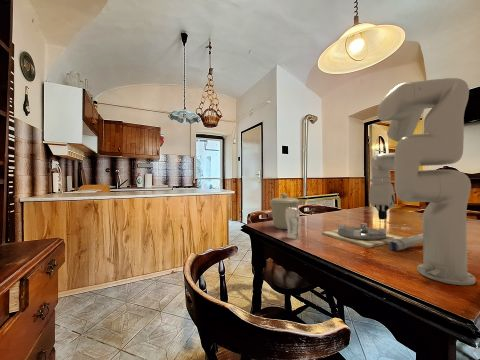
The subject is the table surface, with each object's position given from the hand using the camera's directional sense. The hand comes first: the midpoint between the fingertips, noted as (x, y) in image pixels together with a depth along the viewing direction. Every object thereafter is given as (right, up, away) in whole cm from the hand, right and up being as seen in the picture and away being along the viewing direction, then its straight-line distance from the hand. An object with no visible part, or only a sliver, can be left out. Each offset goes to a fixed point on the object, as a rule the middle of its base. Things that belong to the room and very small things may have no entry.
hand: (382, 219), depth 104 cm
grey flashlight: (+5, -10, -14) cm, 17 cm away
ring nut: (-9, -8, +4) cm, 12 cm away
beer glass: (-42, -11, +6) cm, 44 cm away
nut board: (-8, -9, +4) cm, 13 cm away
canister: (-41, -11, +28) cm, 51 cm away
